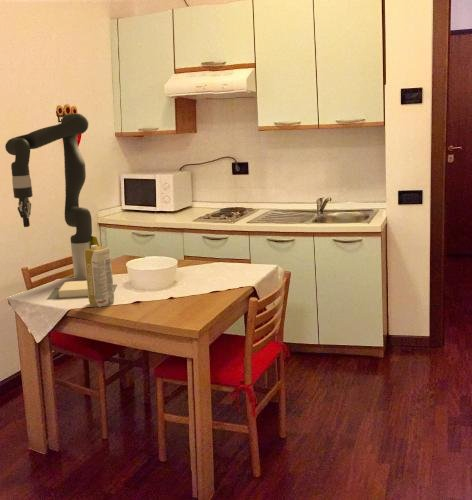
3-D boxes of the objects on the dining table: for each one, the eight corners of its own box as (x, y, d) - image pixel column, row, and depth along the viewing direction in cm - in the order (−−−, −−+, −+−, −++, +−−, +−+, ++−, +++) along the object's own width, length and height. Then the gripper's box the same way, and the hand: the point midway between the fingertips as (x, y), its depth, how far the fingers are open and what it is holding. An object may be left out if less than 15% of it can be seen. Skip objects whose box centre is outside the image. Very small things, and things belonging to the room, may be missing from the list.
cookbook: (58, 290, 268) (106, 287, 269) (65, 281, 282) (111, 279, 283) (59, 297, 268) (107, 294, 269) (66, 288, 282) (111, 285, 283)
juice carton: (104, 299, 264) (99, 242, 259) (117, 302, 259) (112, 244, 254) (86, 305, 257) (80, 246, 252) (99, 308, 252) (93, 248, 247)
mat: (46, 300, 266) (46, 299, 266) (55, 288, 284) (55, 287, 284) (111, 296, 267) (111, 295, 267) (117, 285, 285) (117, 284, 285)
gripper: (27, 187, 264) (31, 229, 268) (35, 184, 277) (39, 223, 281) (8, 188, 264) (13, 229, 268) (17, 184, 277) (22, 224, 280)
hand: (26, 226), depth 274 cm, fingers closed
